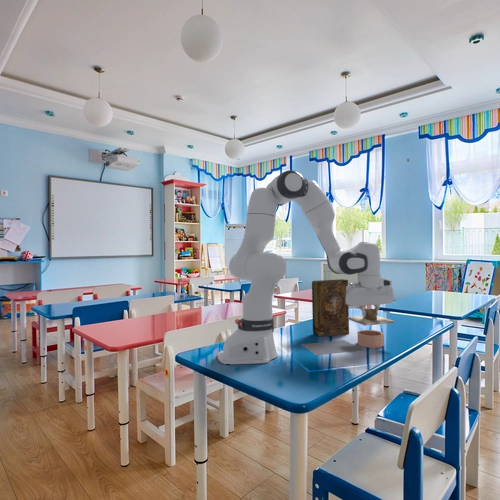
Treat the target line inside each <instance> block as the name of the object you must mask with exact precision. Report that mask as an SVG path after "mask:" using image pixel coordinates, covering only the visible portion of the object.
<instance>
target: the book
mask: <svg viewBox="0 0 500 500" xmlns="http://www.w3.org/2000/svg"><path fill="white" fill-rule="evenodd" d="M348 284H349V280H348V279H344V278H343V279H324V280H321V279H320V280H312V282H311V306H312V310H311V311H312V334H313V335H317V336H318V338H322V337H323V338H324V337H332V336H343V335H350V320H349V319H347V317H350V315H349V314H350V312H349V311H350V309H349V307H350V306H348V305H347V304H346V286H347V285H348Z"/></svg>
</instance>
